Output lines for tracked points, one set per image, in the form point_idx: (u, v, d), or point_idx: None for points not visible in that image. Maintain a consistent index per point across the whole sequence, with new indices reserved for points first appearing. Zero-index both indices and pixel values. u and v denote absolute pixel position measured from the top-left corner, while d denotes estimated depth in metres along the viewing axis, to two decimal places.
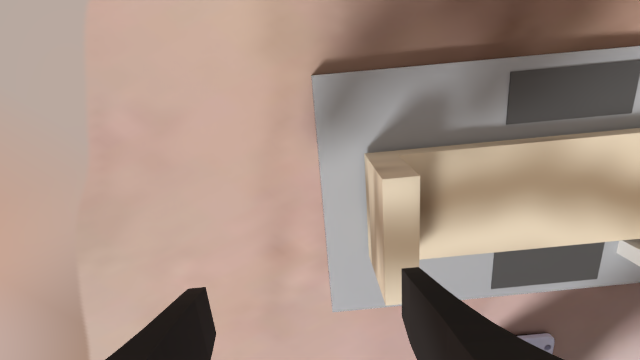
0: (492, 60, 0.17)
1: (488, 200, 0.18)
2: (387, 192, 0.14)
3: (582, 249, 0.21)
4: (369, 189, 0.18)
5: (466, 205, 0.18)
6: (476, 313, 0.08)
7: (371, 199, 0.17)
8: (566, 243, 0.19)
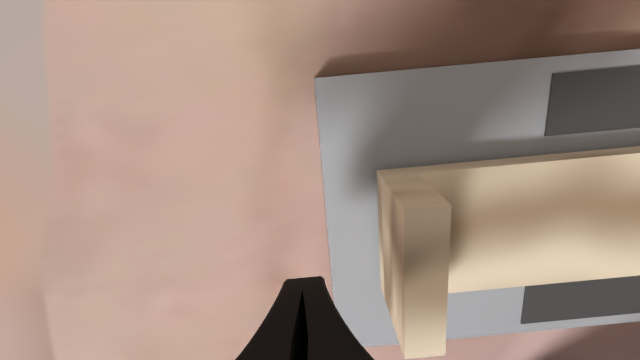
0: (530, 60, 0.15)
1: (524, 225, 0.15)
2: (409, 225, 0.11)
3: (628, 279, 0.18)
4: (383, 214, 0.15)
5: (497, 232, 0.16)
6: (342, 326, 0.08)
7: (385, 226, 0.14)
8: (613, 275, 0.16)
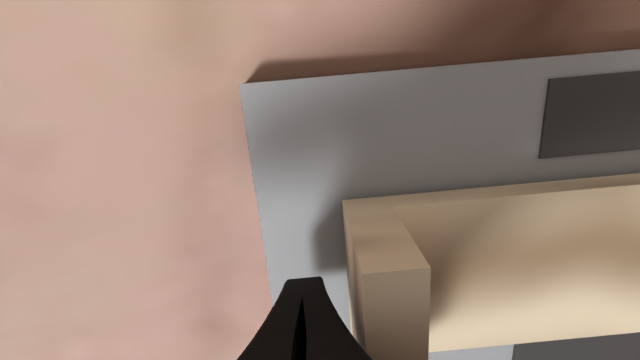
0: (521, 61, 0.11)
1: (530, 271, 0.12)
2: (371, 295, 0.08)
3: None
4: (348, 258, 0.11)
5: (496, 278, 0.12)
6: (341, 326, 0.08)
7: (351, 276, 0.11)
8: None
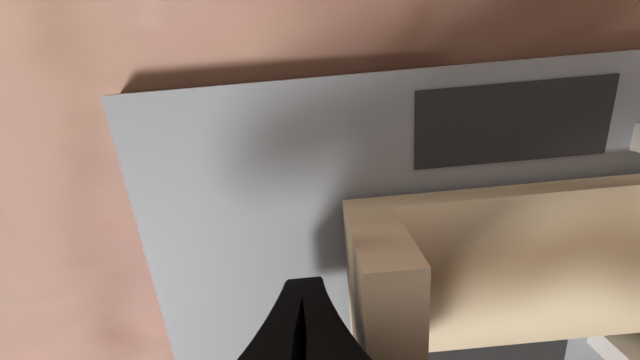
0: (385, 73, 0.11)
1: (530, 271, 0.12)
2: (371, 295, 0.08)
3: None
4: (348, 258, 0.11)
5: (496, 278, 0.12)
6: (341, 326, 0.08)
7: (351, 276, 0.11)
8: None
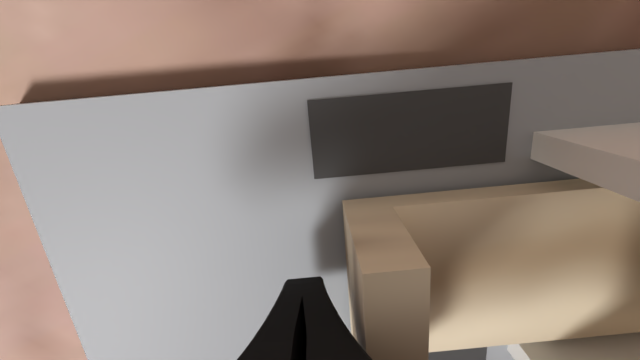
0: (275, 83, 0.11)
1: (530, 271, 0.12)
2: (371, 296, 0.08)
3: None
4: (348, 259, 0.11)
5: (496, 278, 0.12)
6: (341, 326, 0.08)
7: (351, 276, 0.11)
8: None
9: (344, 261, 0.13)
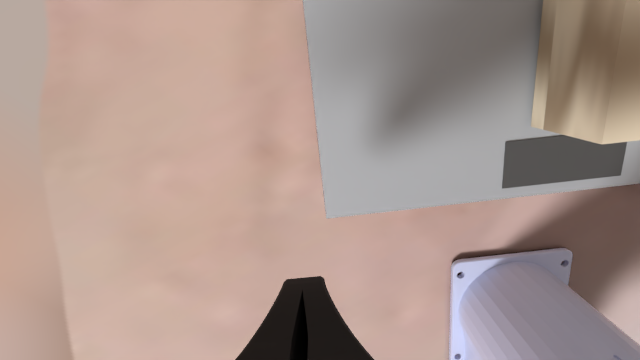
0: None
1: None
2: None
3: None
4: (558, 29, 0.15)
5: None
6: (343, 326, 0.08)
7: (564, 37, 0.15)
8: None
9: (528, 57, 0.17)
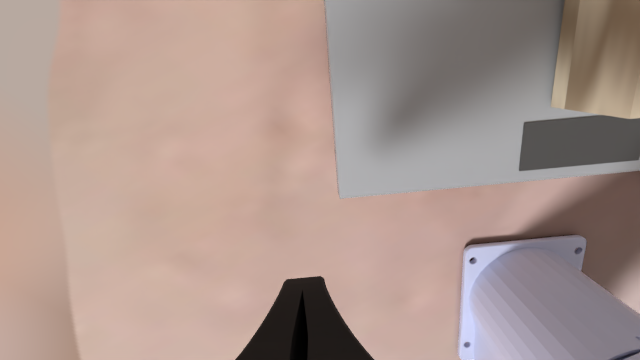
0: None
1: None
2: None
3: (624, 121, 0.19)
4: (583, 4, 0.15)
5: None
6: (342, 326, 0.08)
7: (590, 12, 0.15)
8: None
9: (550, 35, 0.17)
